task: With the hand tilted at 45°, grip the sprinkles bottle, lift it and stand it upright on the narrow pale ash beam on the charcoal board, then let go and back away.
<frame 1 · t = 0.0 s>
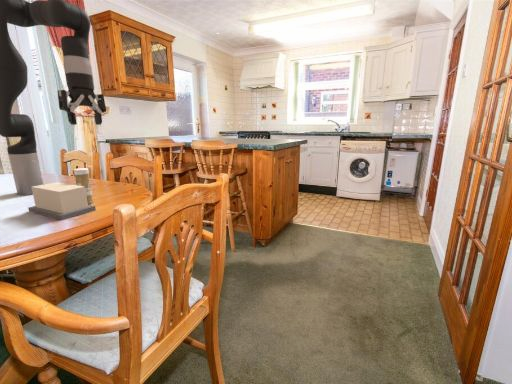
hand: (86, 124, 89), 29 cm above the table, tool pointing down, fingers open, 8 cm apart
sprinkles bottle: (86, 204, 99), on the table
ridge stand: (62, 210, 90), on the table
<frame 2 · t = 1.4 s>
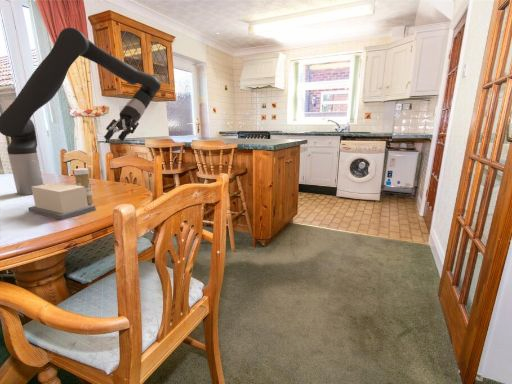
hand: (113, 139, 107), 23 cm above the table, tool tilted 45°, fingers open, 8 cm apart
nothing on the table moved.
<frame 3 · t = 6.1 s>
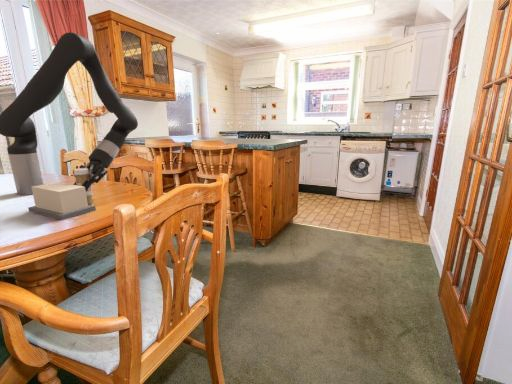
hand: (78, 189, 96), 6 cm above the table, tool tilted 45°, fingers closed on sprinkles bottle, 4 cm apart
sprinkles bottle: (86, 203, 99), on the table, touching gripper
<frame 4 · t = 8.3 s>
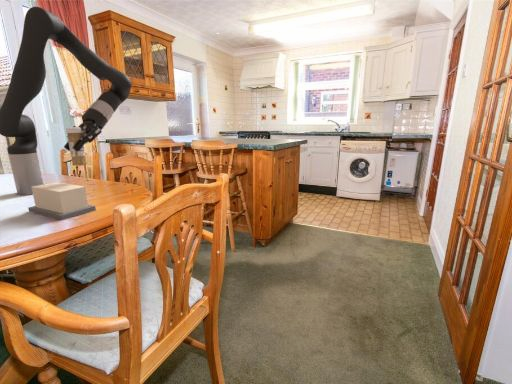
hand: (71, 149, 92), 21 cm above the table, tool tilted 45°, fingers closed on sprinkles bottle, 4 cm apart
sprinkles bottle: (79, 165, 95), point 15 cm above the table, touching gripper
when the fingers open (16 cm above the table, at t = 10.5 s): sprinkles bottle drops 1 cm, resting on ridge stand.
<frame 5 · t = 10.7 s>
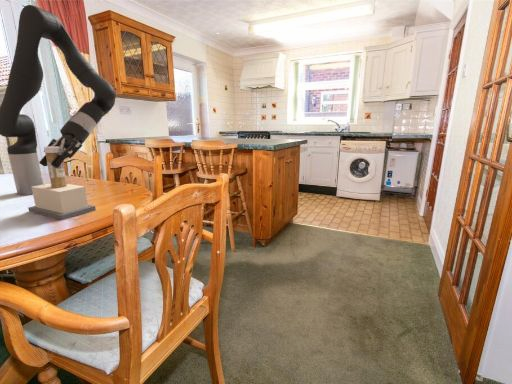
hand: (48, 165, 85), 16 cm above the table, tool tilted 45°, fingers open, 6 cm apart
sprinkles bottle: (59, 186, 89), point 9 cm above the table, touching ridge stand
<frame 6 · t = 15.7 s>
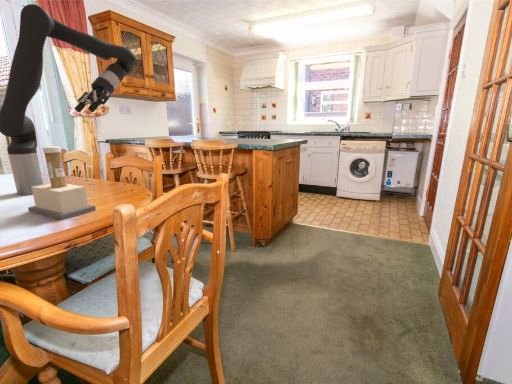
hand: (83, 110, 103), 35 cm above the table, tool tilted 45°, fingers open, 8 cm apart
nothing on the table moved.
at the end: sprinkles bottle inside the target area on the ridge stand (0.3 cm from its centre), point 8.5 cm above the ridge stand's base; sprinkles bottle tilted 0°; the gripper is holding nothing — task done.
